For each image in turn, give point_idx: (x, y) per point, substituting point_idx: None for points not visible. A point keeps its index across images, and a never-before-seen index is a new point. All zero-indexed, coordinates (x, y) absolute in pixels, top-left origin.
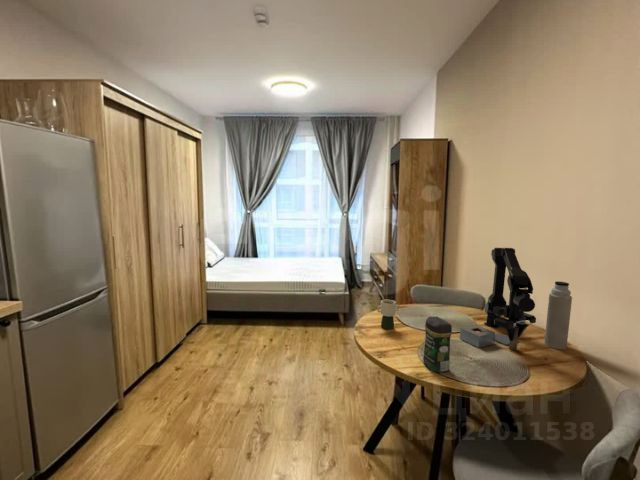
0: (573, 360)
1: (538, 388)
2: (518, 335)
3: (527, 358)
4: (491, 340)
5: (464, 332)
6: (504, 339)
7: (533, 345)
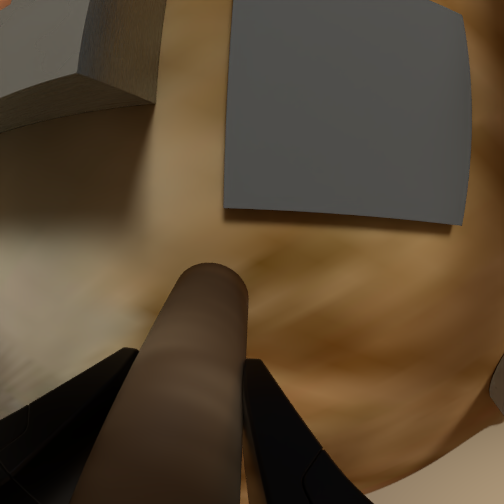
0: (387, 477)
1: None
2: (245, 458)
3: None
4: (73, 105)
5: None
6: (361, 102)
7: (465, 319)
